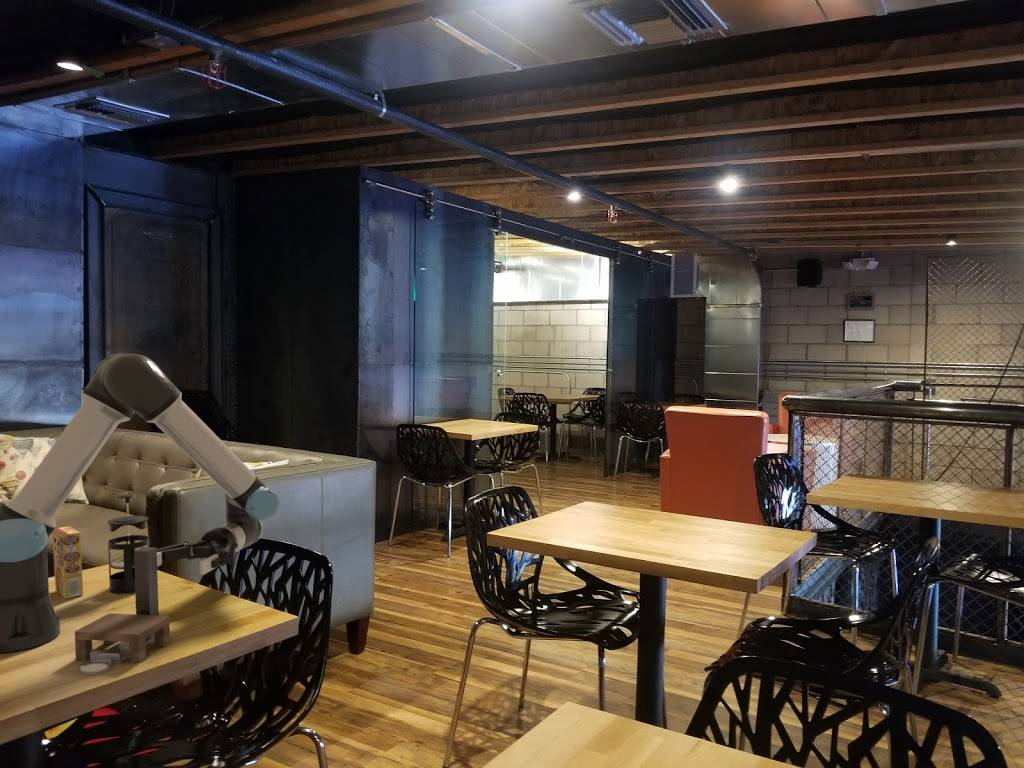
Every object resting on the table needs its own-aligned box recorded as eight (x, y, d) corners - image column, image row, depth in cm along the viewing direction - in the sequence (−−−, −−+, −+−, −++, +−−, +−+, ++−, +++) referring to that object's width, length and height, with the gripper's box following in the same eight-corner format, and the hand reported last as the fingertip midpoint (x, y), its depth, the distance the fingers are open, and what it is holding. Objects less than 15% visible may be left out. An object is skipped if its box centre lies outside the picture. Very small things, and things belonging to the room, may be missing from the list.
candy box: (84, 595, 186) (81, 531, 185) (64, 599, 183) (61, 534, 182) (73, 587, 192) (70, 525, 192) (53, 591, 189) (51, 528, 189)
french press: (150, 592, 188) (147, 497, 187) (106, 597, 185) (103, 500, 184) (152, 578, 199) (149, 488, 198) (111, 582, 196) (108, 491, 194)
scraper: (90, 662, 147) (86, 567, 146) (138, 633, 162) (136, 546, 161) (119, 664, 146) (116, 569, 145) (166, 634, 161) (163, 547, 160)
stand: (75, 660, 148) (74, 631, 148) (110, 640, 158) (109, 613, 158) (139, 663, 146) (138, 634, 146) (169, 643, 156) (169, 616, 156)
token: (78, 678, 141) (78, 670, 141) (81, 667, 145) (81, 659, 145) (110, 673, 143) (110, 665, 143) (111, 663, 147) (111, 655, 147)
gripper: (271, 559, 187) (226, 587, 166) (174, 555, 191) (118, 582, 170) (270, 528, 187) (225, 552, 166) (173, 525, 190) (117, 548, 169)
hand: (171, 567), depth 168 cm, fingers open, 13 cm apart
